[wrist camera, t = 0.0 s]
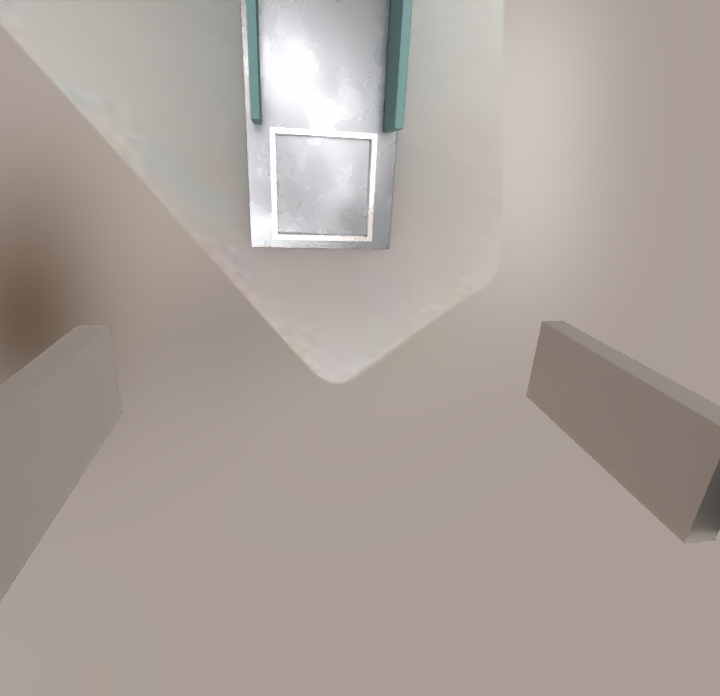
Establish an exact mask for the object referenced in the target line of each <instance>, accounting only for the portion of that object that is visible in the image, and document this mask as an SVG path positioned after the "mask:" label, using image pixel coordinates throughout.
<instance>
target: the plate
mask: <svg viewBox="0 0 720 696" xmlns="http://www.w3.org/2000/svg"><path fill="white" fill-rule="evenodd" d="M390 9H391V0H258V22H259V52H260V82H261V112H262V124H254V123H253V122H252V120H251V116H250V92H249V68H248V43H247V19H246V0H241V19H242V41H243V63H244V86H245V108H246V130H247V152H248V175H249V197H250V219H251V241H252V247H296V248H348V249H389V240H390V225H391V211H392V196H393V182H394V167H395V153H396V138H397V131H394V132H391V133H388V132H383V129H384V112H385V95H386V77H387V60H388V43H389V26H390Z"/></svg>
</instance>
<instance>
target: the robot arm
mask: <svg viewBox="0 0 720 696" xmlns="http://www.w3.org/2000/svg"><path fill="white" fill-rule="evenodd" d="M526 396H527V397H528V398H529V399H530V400H531V401H532V402H533V403H534V404H535V405H536V406H538V407H539V408H540V409H541V410H542V411H543V412H544V413H545V414H546V415H547V416H548V417H549V418H550V419H551V420H553V421H554V422H555V423H556V424H557V425H558V426H559V427H560V428H561V429H562V430H563V431H564V432H566V433H567V434H568V435H569V436H570V437H571V438H572V439H573V440H574V441H575V442H576V443H577V444H578V445H579V446H580V447H581V448H583V449H584V450H585V451H586V452H587V453H588V454H589V455H590V456H591V457H592V458H593V459H594V460H596V462H598V463H599V464H600V465H601V466H602V467H603V468H604V469H605V470H606V471H607V472H608V473H609V474H611V475H612V476H613V477H614V478H615V479H616V480H617V481H618V482H619V483H620V484H621V485H622V486H623V487H624V488H626V489H627V490H628V491H629V492H630V493H631V494H632V495H633V496H634V497H635V498H636V499H637V500H638V501H639V502H640V503H642V504H643V505H644V506H645V507H646V508H647V509H648V510H649V511H650V512H651V513H652V514H653V515H655V516H656V517H657V518H658V519H659V520H660V521H661V522H662V523H663V524H664V525H665V526H666V527H667V528H668V529H669V530H670V531H672V532H673V533H674V534H675V535H676V536H677V537H678V538H679V539H680V540H681V541H682V542H683V543H693V542H702V541H711V540H715V539H716V537H717V534H718V532H719V530H720V406H718V405H716V404H715V403H713V402H711V401H709V400H707V399H705V398H704V397H702V396H700V395H698V394H696V393H695V392H693V391H691V390H689V389H687V388H685V387H683V386H682V385H680V384H678V383H676V382H674V381H672V380H670V379H669V378H667V377H665V376H663V375H661V374H660V373H658V372H656V371H654V370H652V369H650V368H649V367H647V366H645V365H643V364H641V363H639V362H638V361H636V360H634V359H632V358H630V357H628V356H626V355H625V354H623V353H621V352H619V351H617V350H615V349H614V348H612V347H610V346H608V345H606V344H604V343H603V342H601V341H599V340H597V339H595V338H593V337H592V336H590V335H588V334H586V333H584V332H582V331H581V330H578V329H577V328H575V327H573V326H571V325H569V324H567V323H566V322H564V321H542V323H541V328H540V333H539V338H538V343H537V348H536V352H535V357H534V362H533V367H532V371H531V376H530V381H529V386H528V391H527V395H526ZM122 413H123V409H122V403H121V397H120V392H119V386H118V380H117V374H116V370H115V363H114V357H113V352H112V346H111V340H110V335H109V329H108V325H91V326H89V325H88V326H77V327H75V328H74V329H73V330H71V331H70V332H69V333H67V334H66V335H65V336H64V337H62V338H61V339H60V340H58V341H57V342H56V343H55V344H53V345H52V346H51V347H49V348H48V349H47V350H46V351H44V352H43V353H42V354H40V355H39V356H38V357H36V358H35V359H34V360H33V361H32V362H30V363H29V364H27V365H26V366H25V367H24V368H22V369H21V370H20V371H18V372H17V373H16V374H14V375H13V376H12V377H11V378H9V379H8V380H7V381H6V382H4V383H3V384H2V385H0V601H1V600H2V598H3V597H4V595H5V594H6V592H7V591H8V589H9V587H10V586H11V584H12V583H13V581H14V580H15V578H16V576H17V575H18V574H19V572H20V571H21V569H22V568H23V566H24V564H25V563H26V561H27V560H28V558H29V557H30V555H31V553H32V552H33V551H34V549H35V547H36V546H37V544H38V543H39V541H40V540H41V538H42V537H43V535H44V534H45V532H46V530H47V529H48V527H49V526H50V524H51V523H52V521H53V520H54V518H55V517H56V515H57V513H58V512H59V510H60V509H61V507H62V506H63V504H64V503H65V501H66V500H67V498H68V497H69V495H70V493H71V492H72V490H73V489H74V487H75V486H76V484H77V483H78V481H79V480H80V478H81V476H82V475H83V473H84V472H85V470H86V469H87V467H88V466H89V464H90V463H91V461H92V459H93V458H94V456H95V455H96V453H97V452H98V450H99V449H100V447H101V445H102V444H103V443H104V441H105V439H106V438H107V436H108V435H109V433H110V432H111V430H112V429H113V427H114V425H115V424H116V422H117V421H118V419H119V418H120V416H121V415H122Z"/></svg>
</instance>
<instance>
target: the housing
mask: <svg viewBox="0 0 720 696" xmlns="http://www.w3.org/2000/svg"><path fill="white" fill-rule="evenodd" d="M411 11H412V0H391V9H390V26H389V43H388V60H387V77H386V95H385V112H384V129H383V132H388V133H391V132H394V131H397V130H400V129H403V121H404V107H405V93H406V80H407V66H408V52H409V39H410V25H411ZM246 19H247V43H248V68H249V92H250V116H251V120H252V122H253V123H254V124H262V112H261V82H260V52H259V22H258V0H246Z"/></svg>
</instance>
